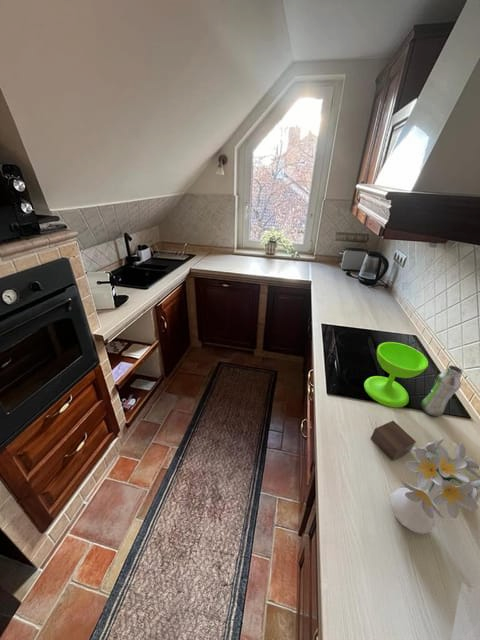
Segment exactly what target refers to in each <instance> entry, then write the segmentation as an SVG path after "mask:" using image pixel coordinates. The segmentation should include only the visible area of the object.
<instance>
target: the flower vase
mask: <svg viewBox="0 0 480 640" xmlns="http://www.w3.org/2000/svg"><path fill="white" fill-rule="evenodd" d="M444 440H445V437H444V438H442V439H439V440H437V442H435V441H434V440H433V441H430V442H427V443H426V444H425V448H424V447H423V446H421V447H419V446H418V447H412V449H411V451H410V452H414V454H415V457H416V459H417V460H418V461H416V460H408V461H407V462H405V467H406V469H408V470H409V471H411V472H414V473H418V475H417V478H416V484H417V487H416V486H414V485H412V484H410V483H408V482H406V481H404V480H401V484H402V485H403V486H404V487H399V488H397V489H395V490H394V491H393V492H392V493H391V495H390V498H389V499H390V506H391V510H392V512H393V514H394V516H395V518H396V519H397V521H398V522H399V523H400V524H401V525H402V526H403V527H405V528H406V529H408V530H409V531H412V532H413V533H416V534H422V535H423V534H424V535H425V534H428V533H431V532H432V531H433V530H434V528H435V526H436V515H438V516H439V517H441V518H442V519H443V518H445V516H444V514H443V513H442V512H441V510H440V508H439V507H438V506H437V505H444V504H446V509H447V513H448V515H449V517H450V518H451V519H456V518H458V516H459V514H460V506H462V507H463V508H465V509H467V510H468V512H469V513H471V511H477V510H478V509H479V505H478V503H477V502H478V501H479V497H480V494H479V491H478V490H479V489H480V475H479V474H478V472H477V471H475V470H480V466H479V464H478V463H477V462H476V461H475V460H473V459H472V458H470V457H466V455H467V451H466V447H465V446H464V444H463V442H462V441H459V444H456V443H454V447H455V458H451V460H450V461H449V457H450V455H449V453H448V451H447V450H446V448H445V447H444V446H442V443H443V441H444ZM437 451H438V456H436V455H435V453H436V452H437ZM428 457H429V458H430V460H428ZM448 461H449V462H448ZM463 469H465V470H466V471H467V472H469V473H470V474H472V475H473V476H474V477H476V479H477V480H473V481H470V478H469V477H468V476H467V475H466V474H465V473H464V472H462V471H460V470H463ZM453 481H455V482H457V483H458V484H460V485H454V484H453ZM441 490H442V491H441ZM440 491H441V492H440ZM459 505H460V506H459Z"/></svg>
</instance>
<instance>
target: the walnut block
mask: <svg viewBox="0 0 480 640" xmlns="http://www.w3.org/2000/svg"><path fill="white" fill-rule="evenodd" d="M370 439H371V440H372V442H373V443H374V444H375V445H376V446H377V447H378V448H379V449H380V450H381V452H383V454H385V455H386V457H387V458H388V459H389V460H390V461H391V462H392V461H395V460H396V459H398V458H400V457H402V456H404V455H406V454H408V453H410V452H412V451H411V450H412V449H413V448H414V446H415V445H416V442H417V441H416V440H415V439H414V438H413V437H412V436H411V435H409V433H407V431H405V430H404V428H402V427H401V426H400V425H399V424H398V423H397V422H396V421H394V420H391V421H389V422H386V423H384V424H382V425H380V426H377V427H375V428H374V430H373V431H372V434H371V437H370Z"/></svg>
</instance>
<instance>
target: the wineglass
mask: <svg viewBox="0 0 480 640" xmlns="http://www.w3.org/2000/svg"><path fill="white" fill-rule="evenodd" d="M376 358H377V362H378V364H379V365H380V367H381V368H382V370H384V372H386V373H387V374H389V376H388V377H386V376H381V375H380V376H379V375H374V376H370V377H368V378H367V379H366V380H364V383H363V388H364V390H365V393H367V395H368V396H369V397H370V398H371V399H372V400H374V401H376V402H377V403H379V404H381V405H383V406H385V407H389V408H395V409H396V408H403V407H405V406H407V405H408V404H409V402H410V397H409V393H408V391H407V390H406V389H405V388H404V387H403V385H401V384H400V383H399V382H397V381H396V380H395V379H396V378H401V379H409V378H415V377H417V376H419V375H421V374H422V373H424V371H425V370H426V369H427V368H428V366H429V360H428V358H427V357H426V356H425V355H424V354H423V353H422V352H420V350H418V349H416V348H414V347H412V346H409V345H408V344H403V343H402V342H401V343H400V342H394V341H385V342H382V343H380V344H378V346H377V348H376Z"/></svg>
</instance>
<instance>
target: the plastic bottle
mask: <svg viewBox="0 0 480 640" xmlns="http://www.w3.org/2000/svg"><path fill="white" fill-rule="evenodd" d="M462 375H463V370H462V369H461V368H460V367H458V366H455V365H449V366H447V368H446V369H445V371H444V372H441V373H439V374H437V375H436V377H435V380H434V382H433V385H432V387H431V390H430V391H429V393H427V395H426V396H425V397H423V399H422V400H421V403H420V406H421V409H422V411H424V412H425V413H426V414H428V415H430V416H433V417H438V416H442V415H443V413H445V410H446V407H447V404H448V402H449V400H450V399H451V398H452V396H453V395H454V394H456V392H457V391H458V390H459V389H460V388H461V385H462V383H461V379H460V378H461V377H462Z"/></svg>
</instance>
